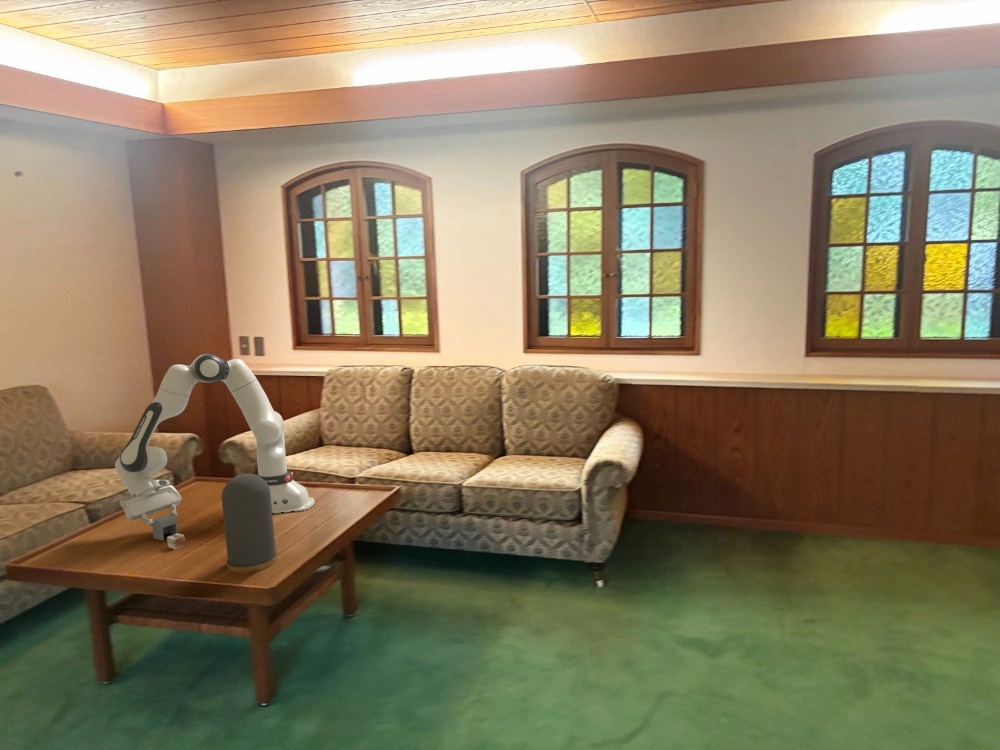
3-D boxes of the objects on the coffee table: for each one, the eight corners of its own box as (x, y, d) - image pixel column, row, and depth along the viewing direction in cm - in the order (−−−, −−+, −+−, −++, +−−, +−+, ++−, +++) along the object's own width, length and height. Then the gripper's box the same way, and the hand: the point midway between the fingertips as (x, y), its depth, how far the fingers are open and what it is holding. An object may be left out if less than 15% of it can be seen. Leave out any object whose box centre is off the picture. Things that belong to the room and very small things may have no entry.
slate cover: (168, 532, 260) (166, 514, 259) (177, 534, 258) (175, 516, 257) (153, 538, 255) (151, 519, 254) (163, 540, 252) (160, 522, 251)
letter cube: (178, 543, 249) (177, 532, 248) (185, 545, 247) (184, 534, 246) (168, 547, 246) (166, 536, 245) (175, 549, 244) (174, 538, 243)
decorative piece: (286, 553, 236) (278, 467, 232) (263, 573, 221) (254, 482, 216) (243, 552, 239) (234, 467, 234) (217, 571, 224) (208, 481, 219)
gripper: (120, 494, 249) (139, 524, 245) (172, 478, 266) (191, 506, 262) (114, 504, 252) (133, 534, 248) (166, 488, 269) (185, 516, 265)
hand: (163, 520), depth 255 cm, fingers open, 8 cm apart
